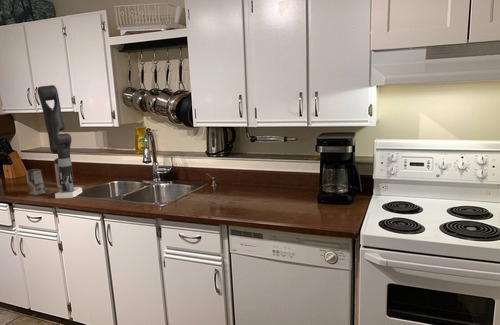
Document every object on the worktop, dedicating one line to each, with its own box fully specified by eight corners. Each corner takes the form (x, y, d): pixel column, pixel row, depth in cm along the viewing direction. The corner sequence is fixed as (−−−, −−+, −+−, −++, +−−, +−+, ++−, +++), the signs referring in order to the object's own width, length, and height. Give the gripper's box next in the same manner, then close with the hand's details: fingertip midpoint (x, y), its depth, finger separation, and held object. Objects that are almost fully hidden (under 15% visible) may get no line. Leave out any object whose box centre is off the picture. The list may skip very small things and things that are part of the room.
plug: (66, 193, 244) (65, 182, 243) (74, 193, 244) (72, 182, 243) (62, 195, 239) (61, 184, 238) (70, 195, 239) (69, 184, 238)
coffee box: (45, 193, 250) (42, 169, 248) (36, 195, 245) (33, 171, 242) (37, 191, 255) (34, 168, 252) (28, 193, 249) (25, 170, 247)
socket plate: (65, 192, 249) (65, 187, 249) (82, 192, 250) (81, 186, 249) (55, 198, 236) (54, 192, 235) (73, 197, 236) (72, 192, 235)
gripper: (64, 163, 245) (67, 187, 248) (53, 167, 231) (56, 192, 234) (75, 162, 245) (78, 186, 248) (65, 166, 231) (68, 192, 234)
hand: (67, 189), depth 241 cm, fingers open, 8 cm apart
